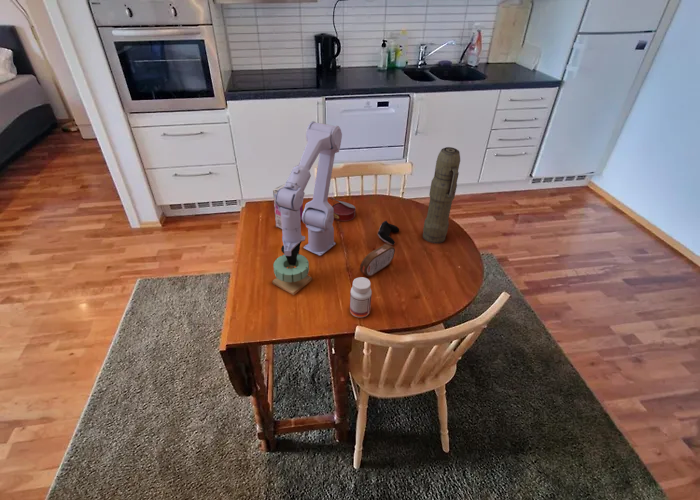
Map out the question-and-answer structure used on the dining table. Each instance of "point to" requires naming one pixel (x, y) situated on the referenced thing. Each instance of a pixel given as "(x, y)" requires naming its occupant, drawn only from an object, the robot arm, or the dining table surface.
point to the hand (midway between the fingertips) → (293, 260)
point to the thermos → (441, 195)
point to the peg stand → (292, 284)
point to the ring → (291, 274)
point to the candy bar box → (277, 212)
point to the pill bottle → (360, 297)
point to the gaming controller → (387, 232)
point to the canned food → (343, 211)
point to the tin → (377, 260)
